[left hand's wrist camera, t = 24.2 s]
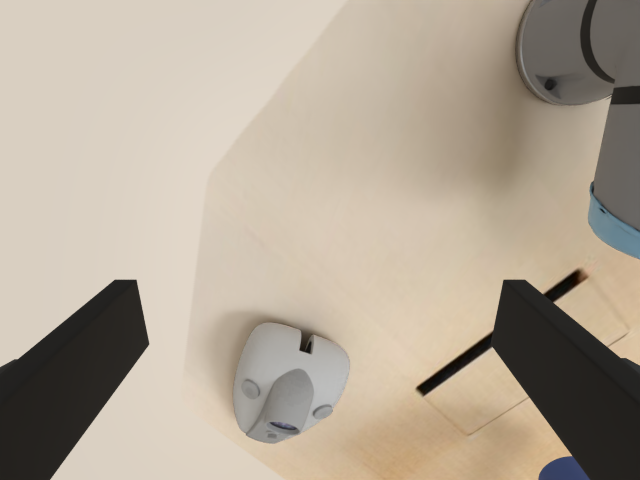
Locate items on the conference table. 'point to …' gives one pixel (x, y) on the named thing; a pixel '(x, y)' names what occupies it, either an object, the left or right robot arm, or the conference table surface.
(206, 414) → the conference table surface
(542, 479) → the canister
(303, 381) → the projector
